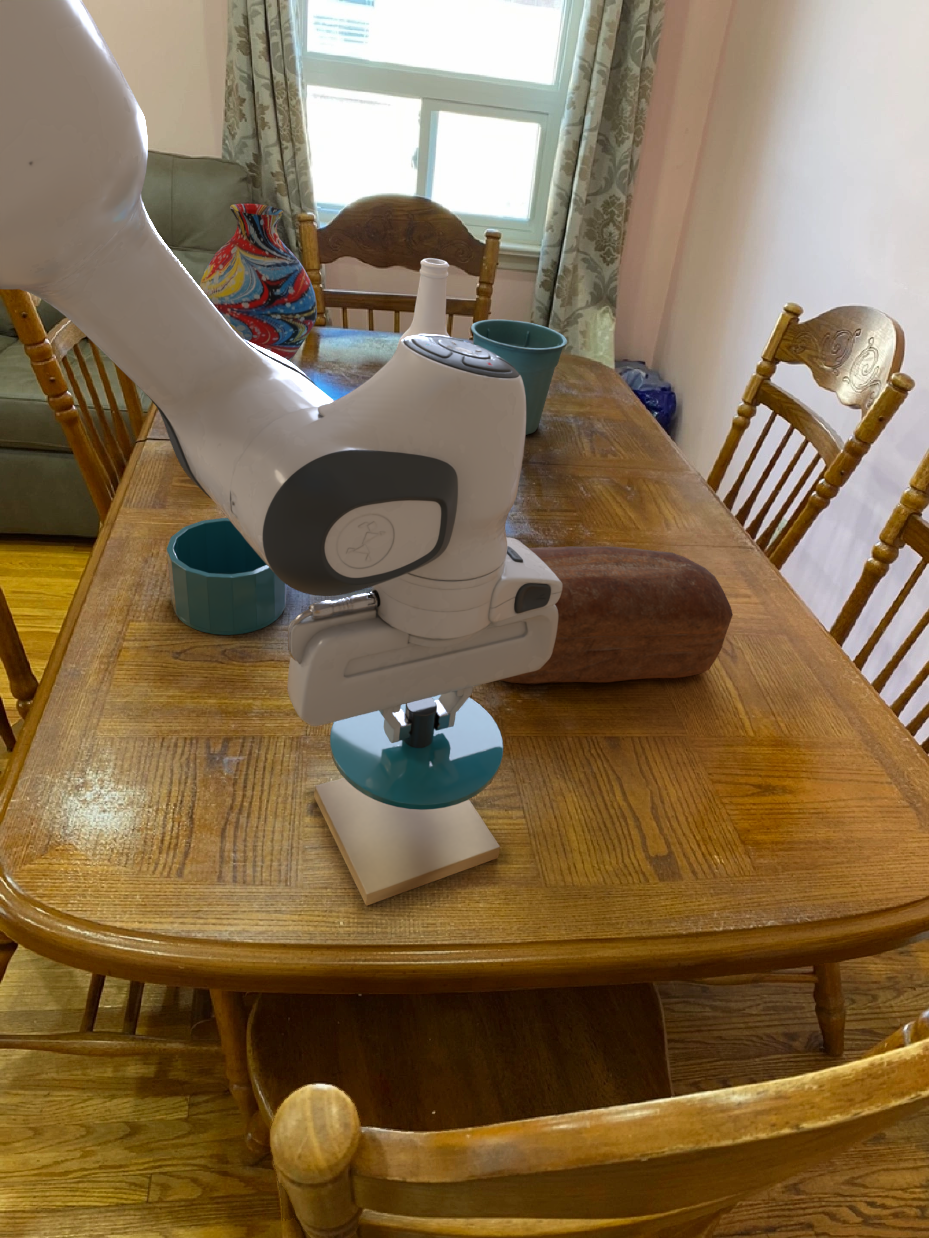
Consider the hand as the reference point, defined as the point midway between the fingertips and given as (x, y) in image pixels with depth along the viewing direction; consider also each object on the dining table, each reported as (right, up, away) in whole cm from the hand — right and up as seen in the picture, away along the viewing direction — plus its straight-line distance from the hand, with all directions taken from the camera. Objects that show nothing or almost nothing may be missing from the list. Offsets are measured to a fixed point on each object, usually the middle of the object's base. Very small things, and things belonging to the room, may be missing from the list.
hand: (419, 729), depth 64 cm
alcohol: (-4, +33, +66) cm, 74 cm away
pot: (-23, +11, +30) cm, 39 cm away
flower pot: (+11, +44, +84) cm, 95 cm away
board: (-2, -9, +7) cm, 12 cm away
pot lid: (0, -1, +1) cm, 2 cm away
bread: (+18, +4, +31) cm, 36 cm away
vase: (-32, +47, +80) cm, 98 cm away
